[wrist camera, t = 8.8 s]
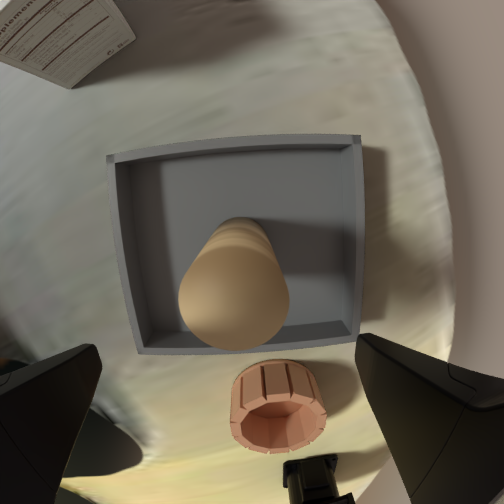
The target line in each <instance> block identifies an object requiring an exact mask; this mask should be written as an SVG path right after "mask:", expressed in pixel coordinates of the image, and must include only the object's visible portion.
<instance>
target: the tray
mask: <svg viewBox="0 0 504 504" xmlns="http://www.w3.org/2000/svg"><path fill="white" fill-rule="evenodd" d="M106 162H107V179H108V191H109V202H110V212H111V221H112V229H113V236H114V243H115V250H116V256H117V262H118V268H119V273H120V279H121V284H122V289H123V294H124V299H125V303H126V308H127V312H128V316H129V321H130V325H131V329H132V333H133V337H134V340H135V344H136V348H137V351H138V354H145V355H217V354H241V353H257V352H271V351H283V350H293V349H303V348H312V347H320V346H328V345H336V344H343V343H349V342H356V341H357V336H358V335H359V332H360V322H361V311H362V297H363V281H364V255H365V200H364V174H363V158H362V145H361V135H345V134H279V135H257V136H241V137H228V138H217V139H207V140H198V141H190V142H182V143H174V144H167V145H161V146H154V147H148V148H142V149H137V150H131V151H126V152H121V153H116V154H111V155H106ZM234 217H246V218H250V219H252V220H254V221H256V222H257V223H259V224H260V225H261V226H262V227H263V229H264V230H265V232H266V234H267V236H268V239H269V241H270V244H271V246H272V249H273V251H274V254H275V256H276V259H277V261H278V264H279V266H280V269H281V271H282V274H283V277H284V279H285V282H286V284H287V287H288V291H289V299H290V302H289V310H288V314H287V317H286V320H285V322H284V324H283V326H282V327H281V328H280V330H279V331H278V332H277V333H276V334H275V336H273V337H272V338H271V339H270V340H268V341H267V342H265V343H264V344H262V345H260V346H257V347H255V348H252V349H247V350H241V351H229V350H223V349H219V348H216V347H213V346H210V345H208V344H206V343H205V342H203V341H202V340H200V339H199V338H198V337H196V336H195V335H194V334H193V333H192V332H191V331H190V329H189V328H188V327H187V325H186V324H185V322H184V320H183V318H182V315H181V313H180V308H179V301H178V297H179V289H180V285H181V282H182V279H183V277H184V275H185V274H186V272H187V271H188V269H189V268H190V266H191V265H192V263H193V262H194V260H195V259H196V257H197V256H198V254H199V253H200V251H201V250H202V249H203V247H204V246H205V244H206V243H207V241H208V240H209V238H210V237H211V236H212V234H213V233H214V231H215V230H216V229H217V227H218V226H219V225H220V224H221V223H223V222H224V221H226V220H228V219H230V218H234Z"/></svg>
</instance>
